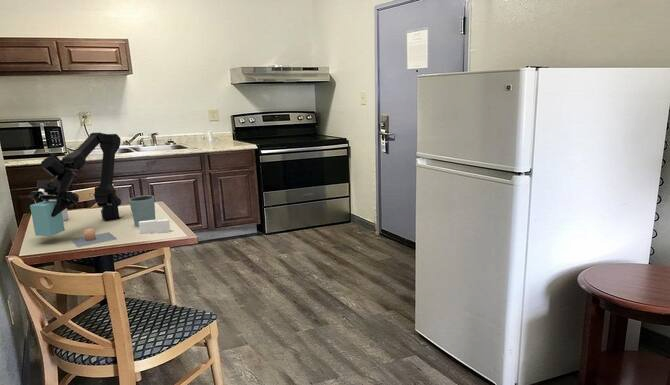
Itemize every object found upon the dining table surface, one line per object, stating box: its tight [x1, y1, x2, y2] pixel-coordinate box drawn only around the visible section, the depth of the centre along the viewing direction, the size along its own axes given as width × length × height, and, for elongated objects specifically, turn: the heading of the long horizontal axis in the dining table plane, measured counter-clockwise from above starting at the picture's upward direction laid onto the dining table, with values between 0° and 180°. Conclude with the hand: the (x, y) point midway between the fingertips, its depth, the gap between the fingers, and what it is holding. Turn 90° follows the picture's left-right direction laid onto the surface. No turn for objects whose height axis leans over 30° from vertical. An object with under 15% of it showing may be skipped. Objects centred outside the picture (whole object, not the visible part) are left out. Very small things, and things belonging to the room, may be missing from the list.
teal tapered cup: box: [128, 194, 156, 228], centre depth 200 cm, size 10×10×12 cm
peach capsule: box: [83, 227, 96, 241], centre depth 182 cm, size 4×4×4 cm
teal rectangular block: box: [29, 201, 66, 237], centre depth 180 cm, size 7×7×12 cm
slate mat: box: [70, 231, 118, 248], centre depth 182 cm, size 14×13×1 cm
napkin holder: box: [138, 218, 171, 235], centre depth 189 cm, size 15×11×6 cm
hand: (44, 216), depth 178 cm, fingers closed on teal rectangular block, 7 cm apart
